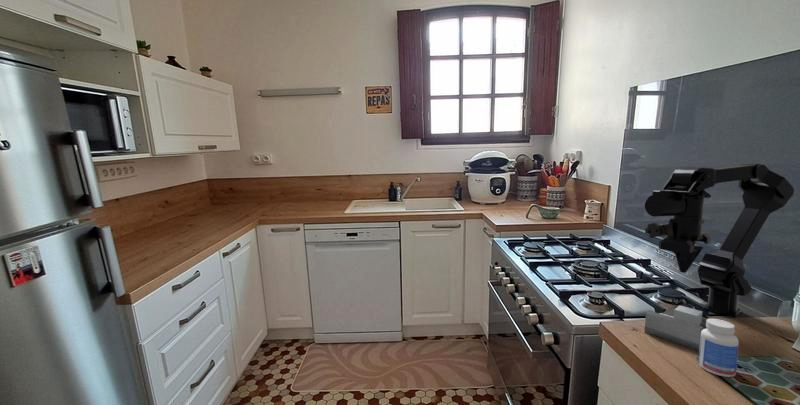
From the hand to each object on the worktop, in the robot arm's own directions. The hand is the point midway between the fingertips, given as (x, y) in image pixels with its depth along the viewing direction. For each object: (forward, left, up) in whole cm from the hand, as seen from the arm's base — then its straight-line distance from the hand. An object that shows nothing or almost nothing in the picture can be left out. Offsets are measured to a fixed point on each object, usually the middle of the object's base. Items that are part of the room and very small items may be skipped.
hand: (683, 272), depth 86 cm
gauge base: (+10, +3, -12) cm, 16 cm away
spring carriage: (+8, +2, -10) cm, 13 cm away
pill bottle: (+24, +12, -12) cm, 29 cm away
